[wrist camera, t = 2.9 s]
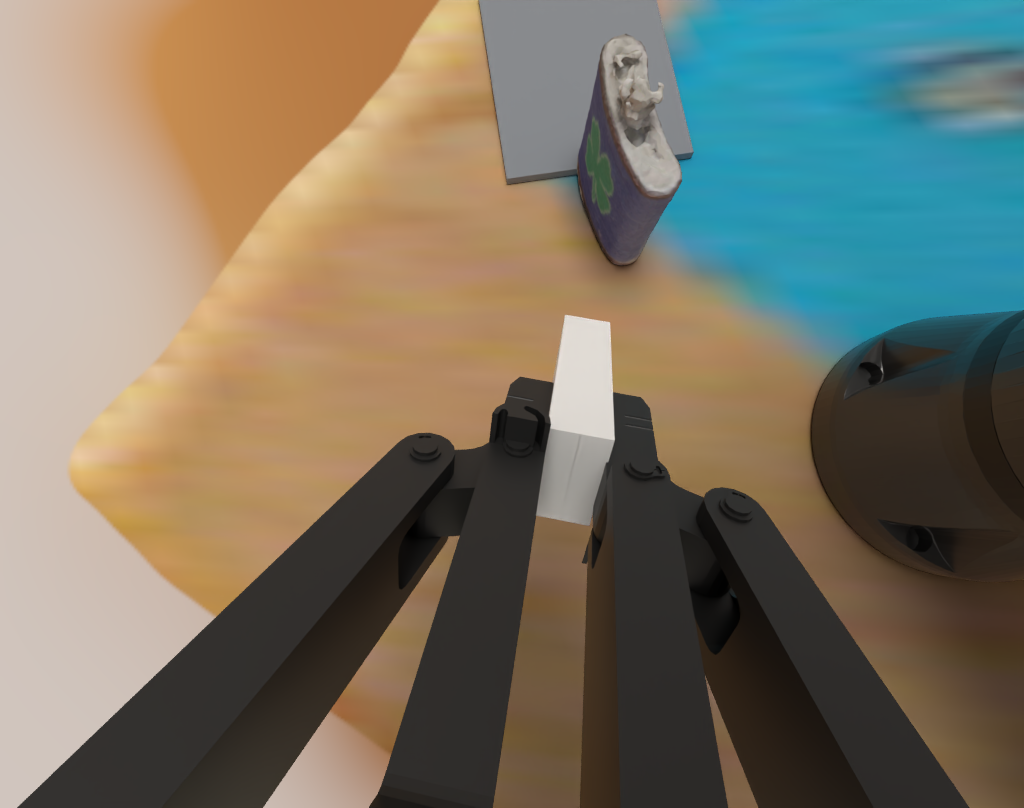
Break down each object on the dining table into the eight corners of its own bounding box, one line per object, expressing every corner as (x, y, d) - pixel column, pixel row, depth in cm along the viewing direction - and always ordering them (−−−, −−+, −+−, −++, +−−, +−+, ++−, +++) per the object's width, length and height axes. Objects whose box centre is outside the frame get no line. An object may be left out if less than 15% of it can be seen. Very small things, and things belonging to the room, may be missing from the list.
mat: (690, 158, 34) (693, 152, 34) (507, 184, 34) (506, 178, 34) (646, -24, 37) (648, -33, 37) (478, 0, 37) (478, -8, 37)
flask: (644, 262, 33) (703, 166, 22) (602, 273, 33) (641, 181, 22) (608, 139, 34) (647, -10, 23) (567, 149, 34) (587, 4, 23)
